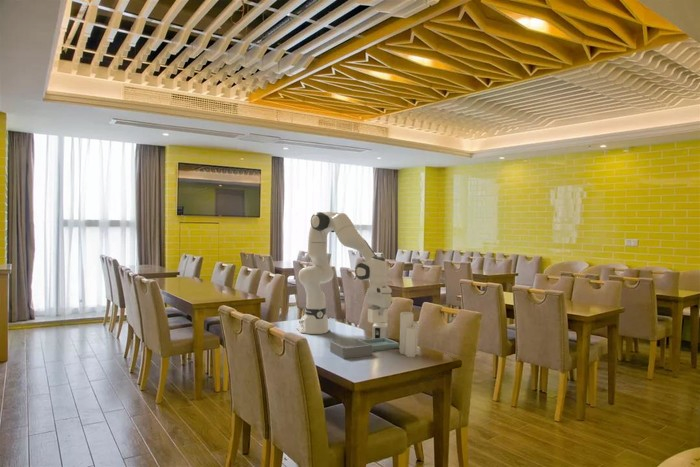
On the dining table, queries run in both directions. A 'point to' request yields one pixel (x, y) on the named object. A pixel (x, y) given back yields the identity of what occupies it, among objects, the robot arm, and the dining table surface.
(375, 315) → the caddy
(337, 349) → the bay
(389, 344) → the tray
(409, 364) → the dining table surface
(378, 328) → the container
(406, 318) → the candle
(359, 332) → the dining table surface
